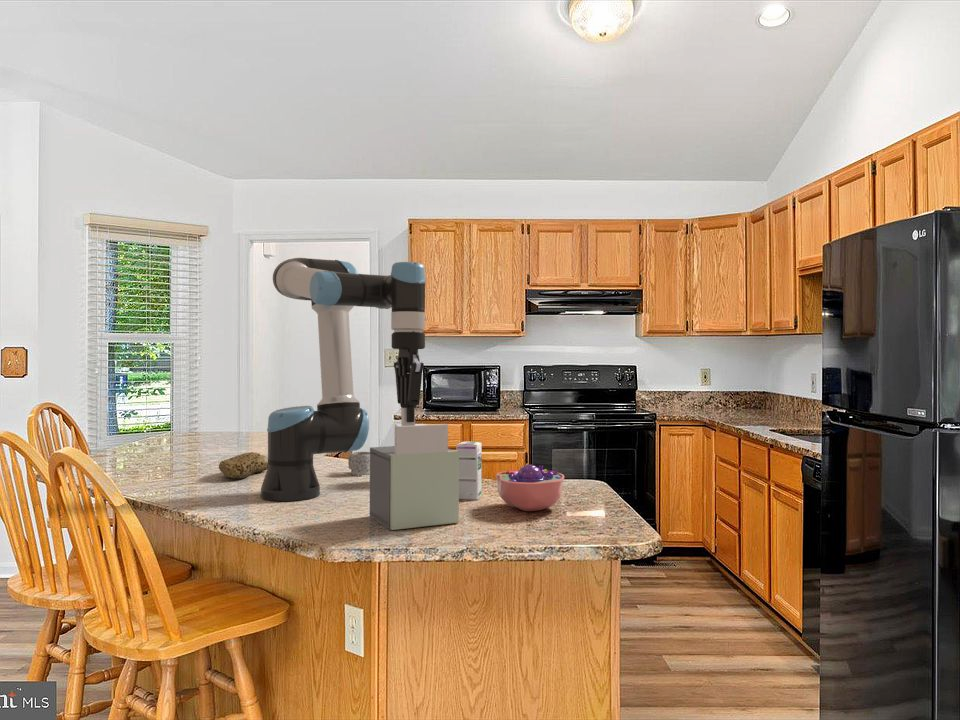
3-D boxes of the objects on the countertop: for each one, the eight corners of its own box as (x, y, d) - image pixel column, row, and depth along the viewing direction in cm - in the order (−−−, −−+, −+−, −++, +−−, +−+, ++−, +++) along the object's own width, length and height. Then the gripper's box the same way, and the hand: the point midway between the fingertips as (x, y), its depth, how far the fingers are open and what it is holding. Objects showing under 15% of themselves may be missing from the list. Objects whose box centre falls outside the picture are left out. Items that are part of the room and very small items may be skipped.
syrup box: (477, 500, 181) (478, 444, 181) (455, 499, 182) (456, 443, 182) (482, 495, 187) (482, 441, 187) (460, 494, 188) (461, 440, 188)
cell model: (568, 502, 180) (569, 458, 180) (559, 520, 160) (560, 470, 160) (504, 498, 184) (504, 455, 184) (487, 515, 164) (488, 467, 164)
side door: (390, 528, 150) (390, 426, 150) (456, 521, 157) (456, 423, 157) (392, 529, 149) (392, 427, 149) (458, 522, 156) (459, 424, 156)
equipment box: (369, 515, 163) (369, 447, 163) (433, 509, 170) (433, 443, 170) (389, 529, 151) (389, 455, 150) (457, 522, 158) (457, 451, 158)
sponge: (246, 473, 226) (200, 470, 208) (253, 450, 227) (208, 444, 209) (277, 484, 221) (232, 481, 203) (284, 460, 221) (240, 455, 204)
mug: (377, 474, 219) (377, 453, 218) (359, 477, 214) (359, 455, 214) (357, 470, 225) (357, 450, 225) (340, 473, 221) (340, 452, 221)
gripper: (434, 330, 153) (434, 438, 153) (413, 332, 165) (413, 432, 165) (402, 330, 150) (402, 440, 150) (383, 332, 161) (383, 434, 162)
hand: (408, 436), depth 157 cm, fingers closed
